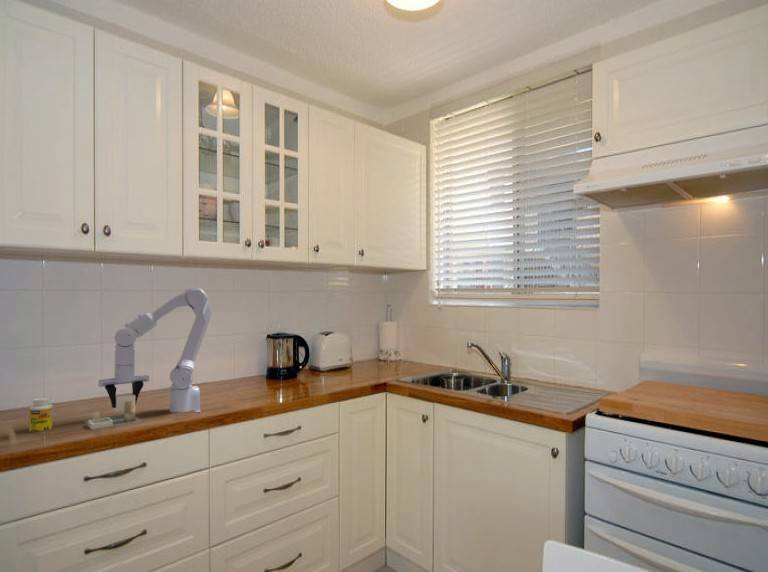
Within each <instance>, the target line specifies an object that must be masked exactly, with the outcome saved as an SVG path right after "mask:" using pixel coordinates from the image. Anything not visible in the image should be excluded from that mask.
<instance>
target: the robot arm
mask: <svg viewBox="0 0 768 572" xmlns="http://www.w3.org/2000/svg"><path fill="white" fill-rule="evenodd" d="M209 299H210V297H209V296H208V295H207V293H206V292H205V291H204V290H203V289H202V288H199V287H190V288H188V289H186V290H185V291H183V292H180V293H178V294H176V295H175V296H173V297H171V298H170V299H169V300H168V301H166V302H165V303H163V304H162V305H160V307H158V308H156V310H153V311H152V312H151V313H148V312H144V313H143V314H142V313H139V314H138V315H137V318H135V319H134V320H133V321H130V323H126V324H124V327H123V328H120V329H118V330H117V331H116V333H115V335H114V340H115V342H116V343H115V346H114V347H115V351H114V377H112V378H107V379H106V378H104V379H98V385H97V386H98V387H99V388H101V387H102V388H103V387H104V388H105V390H106V392H107V395H108V397H109V400H110V404H111V408H112V409H113V408H116V395H117V387H116V385H118V386H119V385H125V384H127V385H128V384H131V389H132V390H131V391H132V394H134V395H135V406H137V402H138V397H139V395H140V393H141V390H143V387H144V385H145V383H144V382H147V383H149V382H150V375H148V374H147V375H146V374H143V375H135V367H136V366H135V364H136V363H135V362H136V361H135V358H136V357H135V356H136V355H135V342H136V340H137V338H138V339H139V338H141V337H143V336H144V335H146V334H147V333H148V332H150V331H151V330H153V329H155V327H156V326H157V324H158V323H157V322H158V321H159V320H160V319H162V318H163V317H164V316H166V315H168V314H169V313H171V312H172V311H175V310H176V309H178V308H180V307H187V306H189V307H190V309H192V311H193V314H194V315H195V317H194V321H193V324H192V326H191V328H190V332H189V335H188V337H187V340H186V342H185V345H184V347H183V350H182V353H181V356H180V358H179V360H178V361H177V363H176V365H175V367H174V368H173V369H172V370H171V371H170V373H169V379H170V381H171V382H172V384H171V385H170V386H169V412H170V413H174V414H175V413H177V414H178V413H185V412H190V411H193V412H196V413H198V412H199V413H201V391H200V388H199V386H197V385H192V383H193V379H194V378H193V372H194V370H195V369H194V368H195V362H196V359H197V357H198V353H199V351H200V348H201V345H202V343H203V340H204V337H205V334H206V332H207V329H208V326H209V324H210V321H211V318H212V314H213V313H212V309H211V305H210V300H209Z"/></svg>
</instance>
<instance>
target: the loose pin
mask: <svg viewBox="0 0 768 572" xmlns="http://www.w3.org/2000/svg"><path fill="white" fill-rule="evenodd" d="M123 413H124V414H123V415H124V422H133V421H135V416H136V405H135V401H127V402H125V406H124V411H123Z"/></svg>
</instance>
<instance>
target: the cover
mask: <svg viewBox="0 0 768 572" xmlns="http://www.w3.org/2000/svg"><path fill="white" fill-rule="evenodd" d="M127 401H135V395H134V394H133V392H129V393H122V394H116V408H112V409H113V410H114V411H115V412H124V406H125V402H127Z"/></svg>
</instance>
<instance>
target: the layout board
mask: <svg viewBox="0 0 768 572" xmlns="http://www.w3.org/2000/svg"><path fill="white" fill-rule="evenodd" d="M139 422H140V423H141V422H143V420H142V419H140V418H139V417H138V416H136V415H135V421H133V422H124V414H120V415H118V414H117V415H112V416H107V417H102V411H101V410H94V411H92V412H91V419H87V420H83V423H84V424H85V425H86V427H88V428H89V429H90V431H93V430H99V429H106V428H110V427H118V426H122V425H128V424H129V425H130V424H136V423H139Z"/></svg>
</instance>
